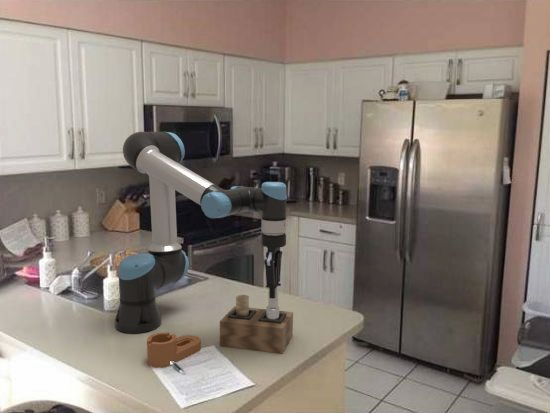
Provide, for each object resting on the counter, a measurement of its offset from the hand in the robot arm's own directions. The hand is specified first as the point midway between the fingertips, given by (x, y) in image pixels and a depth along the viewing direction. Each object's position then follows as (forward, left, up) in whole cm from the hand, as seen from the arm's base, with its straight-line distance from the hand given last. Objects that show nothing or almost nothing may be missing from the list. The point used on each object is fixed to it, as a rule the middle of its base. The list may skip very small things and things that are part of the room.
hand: (273, 306), depth 156 cm
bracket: (-26, -16, -12) cm, 33 cm away
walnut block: (-5, 0, -12) cm, 13 cm away
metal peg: (0, 0, -8) cm, 8 cm away
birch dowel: (-10, 0, -6) cm, 12 cm away
